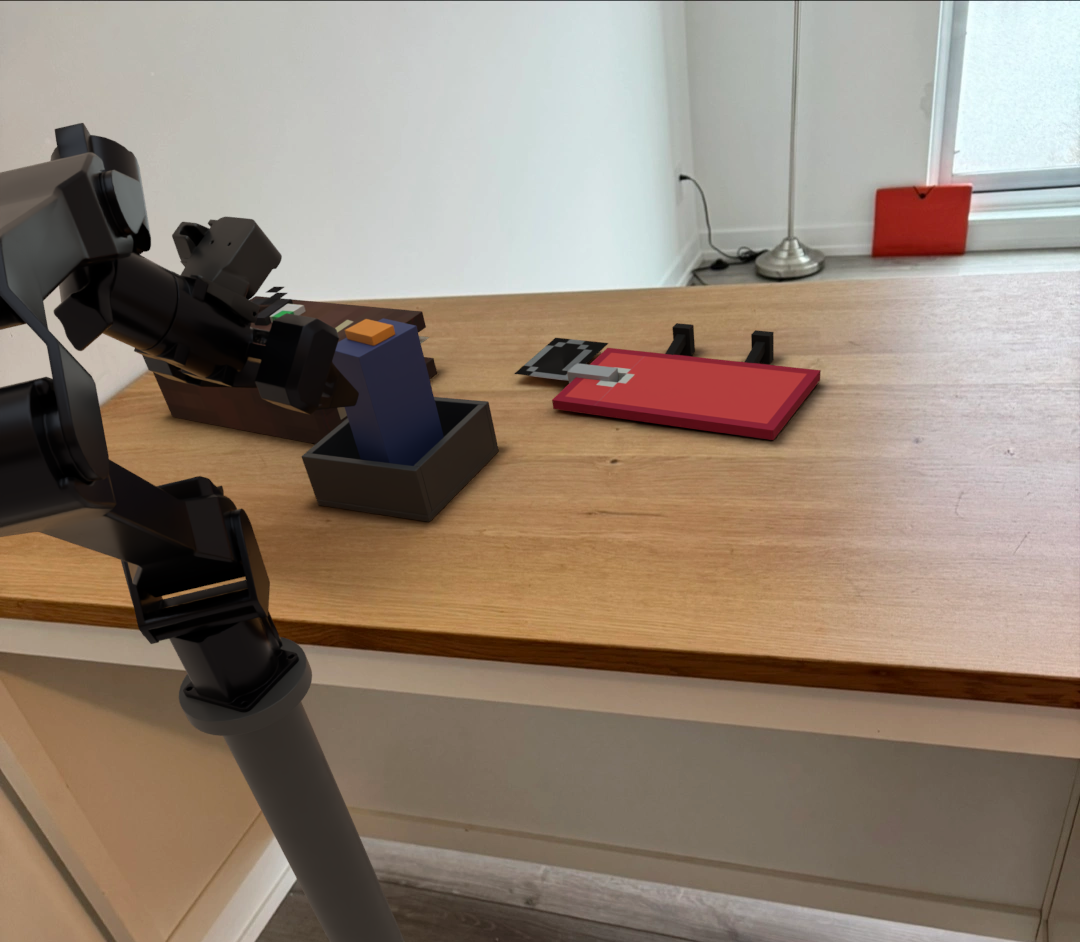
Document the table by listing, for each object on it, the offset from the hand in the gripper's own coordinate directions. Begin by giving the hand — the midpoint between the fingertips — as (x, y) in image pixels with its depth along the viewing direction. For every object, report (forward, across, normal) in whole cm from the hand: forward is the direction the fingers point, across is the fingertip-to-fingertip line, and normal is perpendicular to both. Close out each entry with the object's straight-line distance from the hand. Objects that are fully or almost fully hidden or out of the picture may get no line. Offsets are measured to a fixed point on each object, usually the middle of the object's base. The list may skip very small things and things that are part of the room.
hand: (317, 390), depth 83 cm
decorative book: (+19, +25, -2) cm, 32 cm away
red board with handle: (+30, -12, -13) cm, 35 cm away
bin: (+13, 0, +4) cm, 14 cm away
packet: (+13, 0, +3) cm, 13 cm away
